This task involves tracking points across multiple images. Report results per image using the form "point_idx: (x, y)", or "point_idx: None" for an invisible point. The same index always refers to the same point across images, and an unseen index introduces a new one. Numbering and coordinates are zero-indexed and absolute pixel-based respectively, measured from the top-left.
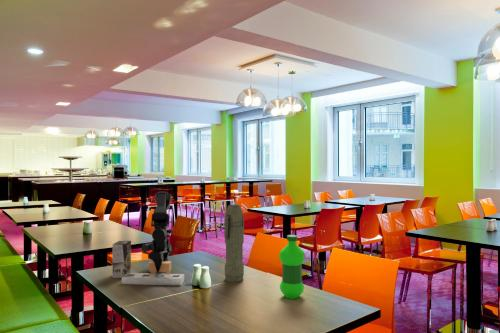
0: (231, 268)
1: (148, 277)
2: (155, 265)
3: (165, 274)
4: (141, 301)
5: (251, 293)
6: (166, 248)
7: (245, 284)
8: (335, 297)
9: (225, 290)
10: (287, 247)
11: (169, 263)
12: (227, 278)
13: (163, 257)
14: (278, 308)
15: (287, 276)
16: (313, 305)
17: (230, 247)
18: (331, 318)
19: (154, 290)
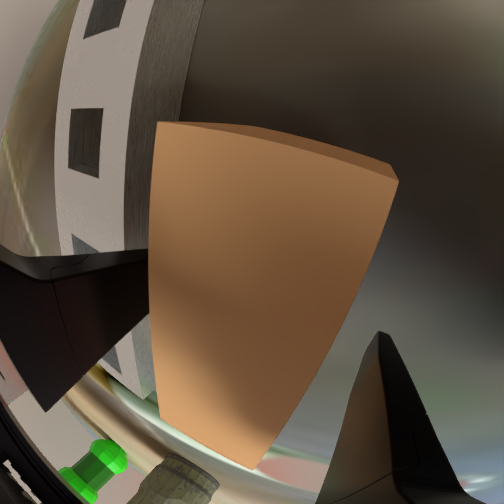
0: (141, 483)
1: (58, 174)
2: (95, 259)
3: None
4: (13, 175)
5: (111, 426)
6: None
7: (159, 458)
8: (131, 467)
9: (110, 408)
10: None
11: (172, 423)
12: (167, 461)
13: (38, 403)
14: (75, 403)
15: (82, 458)
16: (99, 435)
17: None
18: (76, 416)
19: (52, 210)
